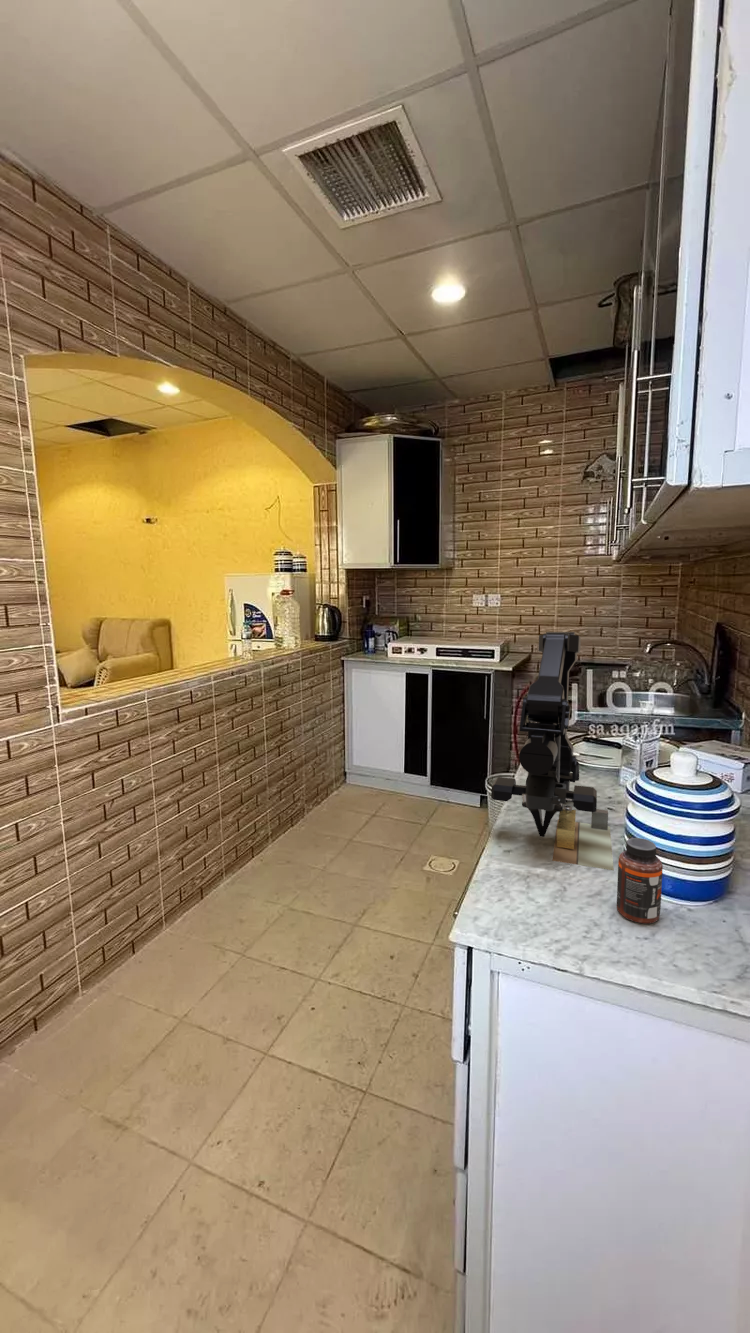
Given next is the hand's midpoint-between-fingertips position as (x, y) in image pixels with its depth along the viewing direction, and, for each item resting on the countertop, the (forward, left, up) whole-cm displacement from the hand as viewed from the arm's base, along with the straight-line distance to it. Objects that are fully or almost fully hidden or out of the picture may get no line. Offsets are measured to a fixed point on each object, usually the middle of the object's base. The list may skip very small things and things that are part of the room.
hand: (542, 836), depth 101 cm
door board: (-2, +7, -2) cm, 8 cm away
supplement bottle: (+17, +15, -2) cm, 23 cm away
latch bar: (-3, +4, -1) cm, 5 cm away
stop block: (-10, +10, -1) cm, 14 cm away
